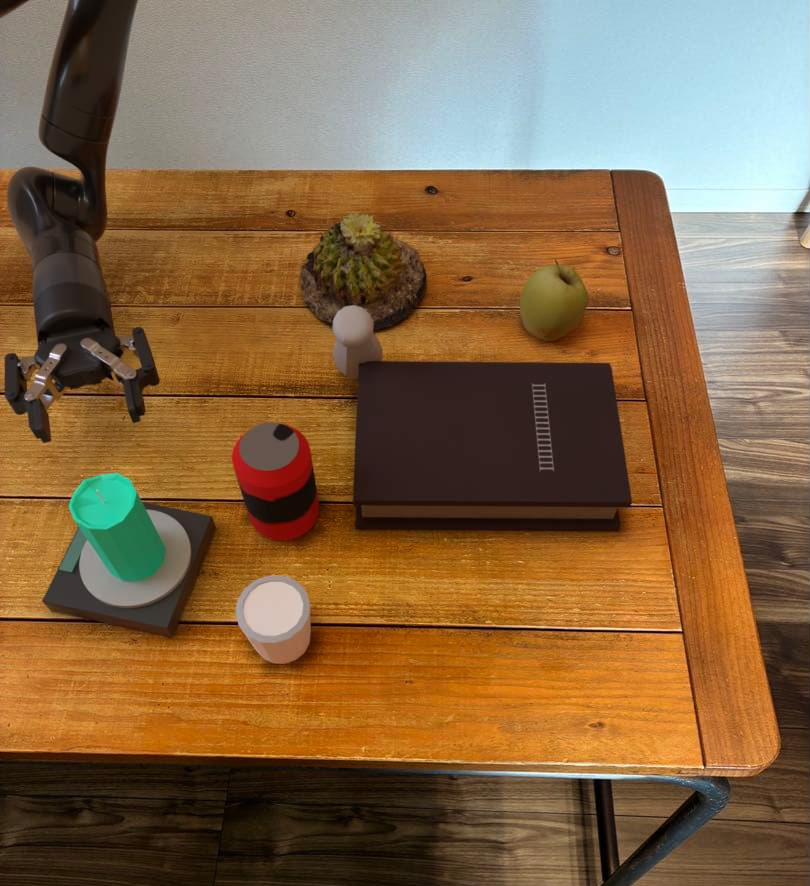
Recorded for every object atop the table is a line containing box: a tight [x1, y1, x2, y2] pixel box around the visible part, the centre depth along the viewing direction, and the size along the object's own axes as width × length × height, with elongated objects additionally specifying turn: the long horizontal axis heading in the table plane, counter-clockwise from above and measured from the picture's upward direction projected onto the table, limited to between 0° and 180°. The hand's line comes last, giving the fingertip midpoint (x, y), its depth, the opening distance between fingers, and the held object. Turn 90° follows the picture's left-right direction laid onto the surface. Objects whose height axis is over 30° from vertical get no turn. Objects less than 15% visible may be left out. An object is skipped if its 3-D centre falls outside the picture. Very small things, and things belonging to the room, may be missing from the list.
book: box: [352, 360, 633, 533], centre depth 89 cm, size 28×20×6 cm
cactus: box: [299, 211, 428, 331], centre depth 101 cm, size 17×16×10 cm
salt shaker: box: [332, 305, 384, 380], centre depth 90 cm, size 6×6×13 cm
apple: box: [519, 259, 589, 342], centre depth 97 cm, size 8×8×10 cm
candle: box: [67, 472, 166, 581], centre depth 77 cm, size 6×6×12 cm
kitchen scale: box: [41, 501, 217, 639], centre depth 83 cm, size 13×13×3 cm
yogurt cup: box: [234, 574, 312, 665], centre depth 78 cm, size 7×7×7 cm
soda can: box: [231, 421, 320, 541], centre depth 83 cm, size 8×8×12 cm
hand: (89, 427), depth 78 cm, fingers open, 8 cm apart
